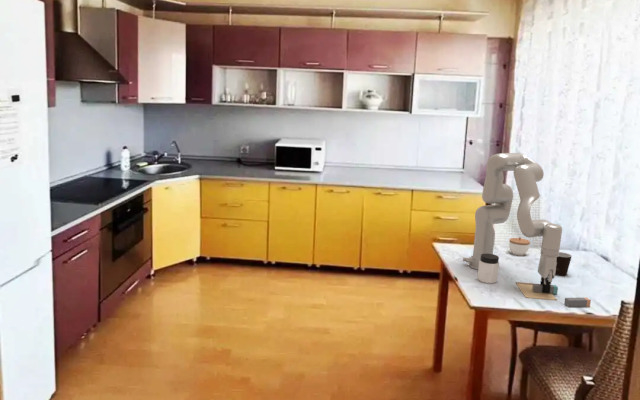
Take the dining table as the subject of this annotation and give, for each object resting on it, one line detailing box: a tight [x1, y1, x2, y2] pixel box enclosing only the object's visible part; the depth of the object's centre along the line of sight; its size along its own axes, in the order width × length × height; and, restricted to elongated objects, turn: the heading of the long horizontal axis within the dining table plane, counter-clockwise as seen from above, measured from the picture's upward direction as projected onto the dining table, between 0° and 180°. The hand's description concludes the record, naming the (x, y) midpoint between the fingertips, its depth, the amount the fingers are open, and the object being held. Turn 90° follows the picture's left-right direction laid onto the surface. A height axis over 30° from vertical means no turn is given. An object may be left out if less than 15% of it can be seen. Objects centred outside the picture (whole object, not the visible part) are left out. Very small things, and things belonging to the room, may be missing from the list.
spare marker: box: [563, 297, 592, 308], centre depth 241 cm, size 10×3×3 cm, turn 99°
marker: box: [532, 283, 559, 295], centre depth 255 cm, size 10×3×3 cm, turn 85°
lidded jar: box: [508, 237, 531, 257], centre depth 315 cm, size 11×11×9 cm
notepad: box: [515, 281, 557, 301], centre depth 257 cm, size 13×19×1 cm
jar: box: [476, 253, 500, 284], centre depth 267 cm, size 9×8×12 cm
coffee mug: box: [555, 251, 573, 277], centre depth 284 cm, size 12×9×10 cm
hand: (544, 290), depth 255 cm, fingers closed on marker, 2 cm apart
